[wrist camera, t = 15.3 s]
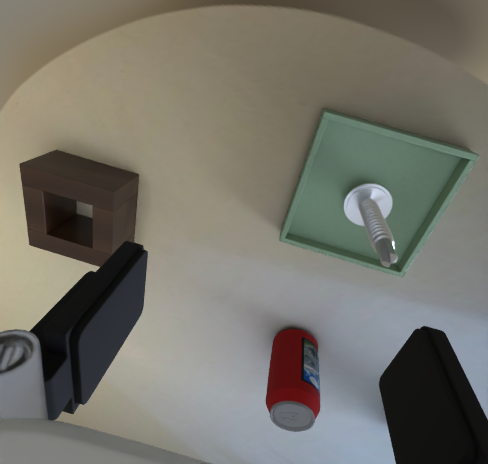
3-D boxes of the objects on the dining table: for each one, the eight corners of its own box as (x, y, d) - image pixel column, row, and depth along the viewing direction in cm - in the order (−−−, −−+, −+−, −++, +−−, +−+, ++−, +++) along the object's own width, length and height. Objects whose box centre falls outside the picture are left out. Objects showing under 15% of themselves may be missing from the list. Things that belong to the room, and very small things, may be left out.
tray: (323, 107, 33) (324, 111, 31) (469, 149, 32) (480, 155, 30) (280, 231, 41) (278, 241, 39) (398, 266, 40) (402, 278, 38)
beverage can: (317, 358, 50) (320, 438, 40) (274, 355, 51) (265, 431, 41) (318, 326, 47) (321, 403, 36) (272, 323, 48) (262, 397, 38)
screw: (341, 218, 37) (342, 178, 35) (386, 216, 36) (389, 175, 34) (356, 288, 26) (358, 236, 24) (421, 289, 25) (430, 234, 23)
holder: (55, 149, 40) (18, 163, 35) (139, 174, 40) (114, 191, 35) (60, 223, 46) (29, 245, 41) (133, 246, 46) (111, 270, 40)
